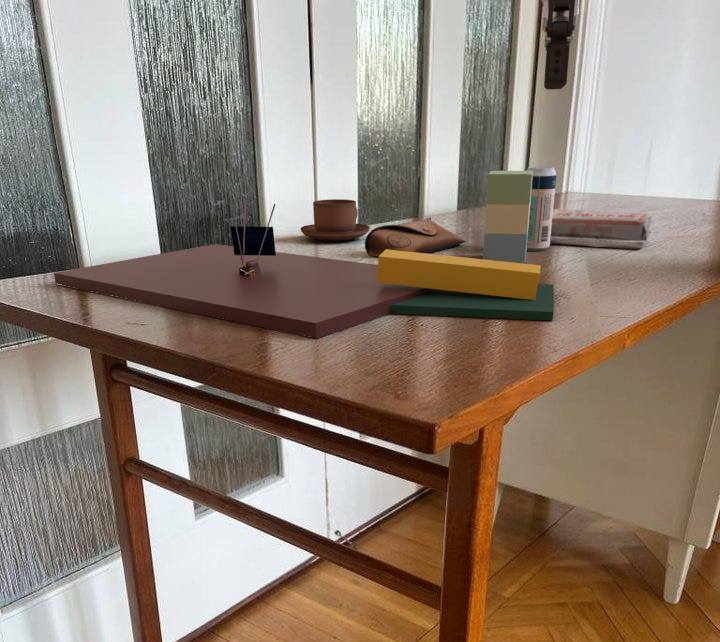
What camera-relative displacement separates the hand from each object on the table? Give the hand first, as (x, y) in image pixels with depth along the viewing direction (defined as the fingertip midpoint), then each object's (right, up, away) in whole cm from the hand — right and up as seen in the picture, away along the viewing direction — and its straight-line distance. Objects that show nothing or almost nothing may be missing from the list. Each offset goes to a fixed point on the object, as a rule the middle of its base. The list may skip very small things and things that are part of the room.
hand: (554, 88), depth 81 cm
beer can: (+7, -5, +39) cm, 40 cm away
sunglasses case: (-12, -5, +40) cm, 42 cm away
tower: (+1, -9, +31) cm, 33 cm away
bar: (-10, -20, +6) cm, 23 cm away
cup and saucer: (-25, 0, +51) cm, 57 cm away
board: (-34, -17, +16) cm, 42 cm away
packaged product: (+17, -3, +44) cm, 48 cm away
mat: (-10, -21, +7) cm, 24 cm away
